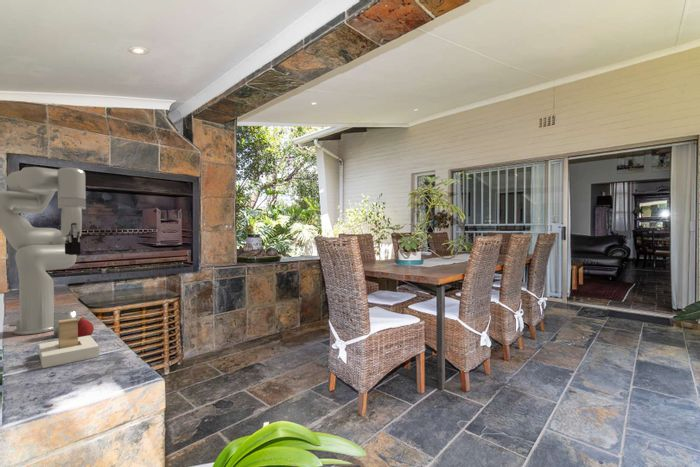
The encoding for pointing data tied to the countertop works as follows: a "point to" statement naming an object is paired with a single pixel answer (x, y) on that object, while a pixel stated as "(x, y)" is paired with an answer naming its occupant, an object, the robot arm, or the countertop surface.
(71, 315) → the round peg
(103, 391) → the countertop surface
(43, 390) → the countertop surface
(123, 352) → the countertop surface
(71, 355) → the socket block
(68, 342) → the square peg
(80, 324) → the onion
